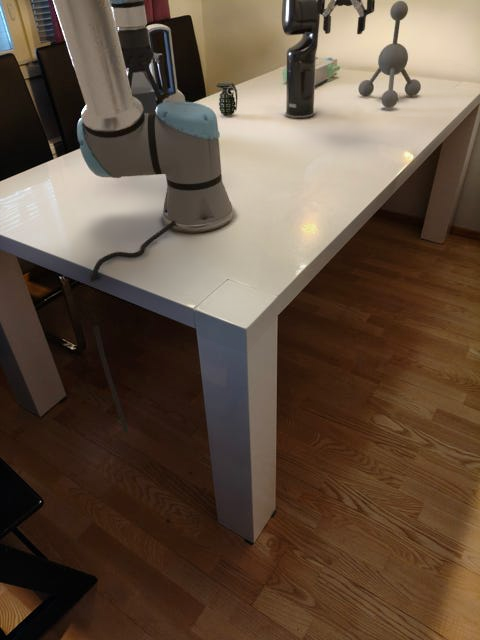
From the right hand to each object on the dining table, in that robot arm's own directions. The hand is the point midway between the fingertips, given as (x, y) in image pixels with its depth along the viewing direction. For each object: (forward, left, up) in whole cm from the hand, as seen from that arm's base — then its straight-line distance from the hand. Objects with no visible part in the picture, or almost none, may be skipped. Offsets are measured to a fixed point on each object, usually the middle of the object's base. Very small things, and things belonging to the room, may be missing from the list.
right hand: (343, 33), depth 125 cm
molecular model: (-39, +33, -28) cm, 58 cm away
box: (-4, -54, -19) cm, 58 cm away
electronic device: (-22, -48, -28) cm, 59 cm away
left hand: (+5, -53, -18) cm, 56 cm away
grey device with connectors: (-81, +13, -28) cm, 87 cm away
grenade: (-37, -27, -28) cm, 54 cm away
